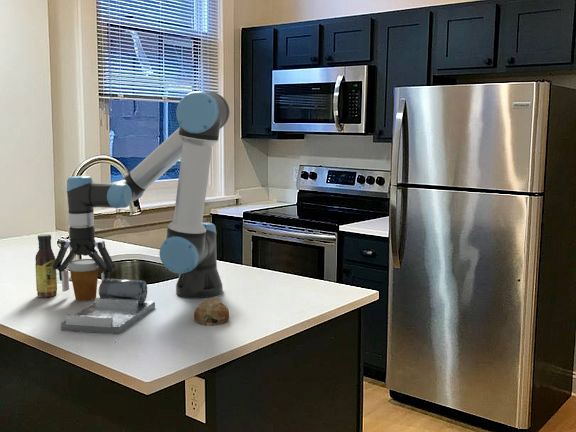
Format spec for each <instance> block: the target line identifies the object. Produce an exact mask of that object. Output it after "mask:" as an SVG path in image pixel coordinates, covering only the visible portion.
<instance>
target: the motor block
mask: <svg viewBox="0 0 576 432" xmlns="http://www.w3.org/2000/svg"><path fill="white" fill-rule="evenodd" d="M147 297H148V285H147V283H146V281H145V280H142V279H141V280H139V279H138V280H137V279H120V278H118V279H117V278H110V279H104V280H103V281H102V280H101V282H100V285H99V287H98V297H97V296H96V298H95V299H94V303H92V304H91V305H89V306H88V307H86V308H84V309H82V310H81V311H79V312H77V313H76V314H72V313H67V314H66V315H65V320H64V321H62V322H60V330H61V331H69V332H80V331H83V332H84V333H85V332H86V333H95V332H100V333H101V334H109V333H116V334H115V335H120V334H121V332H122V331H123V332H124V331H126V330H127V329H129V328H130V327H132V326H133V325H134V324H135V323H137V322H138V321H139V320H141V319H142V318H143V317H145V316H146V315H147V314H148V313H150V312H151V311H153V310H154V309H156V301H154V300H147ZM140 318H141V319H140ZM136 321H137V322H136ZM133 323H134V324H133ZM129 326H130V327H129ZM125 329H126V330H125ZM83 332H82V333H83ZM123 332H122V333H123ZM100 333H99V334H100Z"/></svg>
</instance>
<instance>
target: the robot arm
mask: <svg viewBox="0 0 576 432" xmlns="http://www.w3.org/2000/svg"><path fill="white" fill-rule="evenodd" d="M228 103H229V102H227V100H226V98H225V97H224V96H222V95H221V94H218V93H217V92H209V91H204V90H200V91H199V90H197V91H193V92H192V91H191V92H189V93H187V94H186V95H184V96H183V97H182V98H181V99H180V100H179V102H178V104H177V106H176V113H175V114H176V120H177V122H178V125H179V127H178V128H177V129H176V130H175V131H174V132H173V133H172V134H170V135H169V136H168V137H167V138H166V139H164V141H162V142H161V143H160V144H159V145H158V146H157V147H156V148H155V149H154V150H152V152H151V153H149V154H148V155H147V156H146V157H145V158H144V159H143V160H142V161H141V162H139V164H137V166H136V167H134V168H133V169H132V170H130V172H128V174H126V176H124V177H123V178H122V179H121V180H116V181H113V182H103V183H101V182H100V183H99V182H98V183H97V182H93V178H92V176H90V175H74V176H73V175H72V176H70V177H68V178H67V179H66V195H67V205H68V206H67V207H68V213H67V214H68V225H69V226H70V227H69V229H68V230H69V231H68V232H69V239H70V240H68V239H64V240H61V241H60V247H59V251H58V253H57V255H56V257H55V258H56V260H55V262H54V265H53V268H54V269H56V271H58V275H59V276H58V277H59V278H58V279H59V281H61V285H62V286H61V287H62V288H61V289H62V292H68V291H69V290H70V283H69V282H70V280H69V279H70V278H69V269H67V267H68V266H69V263H70V262H71V261H73V260H74V258H75V257H76V256H88V257H89V258H90V259H93V260H94V261H95V263H96V264H97V265H98V266H99V269H100V270H101V271H102V273H100V277H101V282H102V281H103V280H104V279H111V273H112V272H114V271H115V270H116V269H117V268H116V265H115V264H114V262H113V260H112V257H111V256H110V254H109V251H108V250H107V248H106V242H105V241H104V240H101V241H96V240H95V239H96V237H95V236H96V233H95V232H96V228H95V226H94V224H95V215H94V214H95V213H94V212H95V211H94V208H108V209H109V208H110V209H111V208H112V209H124V208H128V207H129V206H130V204H131V203H132V202H136V201H138V199H140V198H141V197H143V195H144V193H145V191H146V190H147V189H148V188H150V186H152V185H153V184H154V183H155V182H156V181H157V180H158V179H160V177H162V176H163V175H164V174H165V173H166V172H168V170H170V169H171V168H172V167H173V166H174V165H175V164H176V163H177V162H179V161H180V165H179V172H178V181H177V190H176V197H175V205H174V215H173V220H172V221H170V222H169V223H168V225H167V228H166V236H165V240H164V241H163V242H162V243H161V245H160V247H159V259H160V261H161V263H162V265H164V267H165V269H167V270H169V271H170V272H172V273H174V274H179V275H178V279H177V282H176V284H175V293H176V295H177V296H179V297H183V298H188V299H190V298H191V299H203V298H211V297H214V296H217V295H221V294H222V293H223V283H222V280H221V277H220V274H219V271H218V268H217V267H218V264H217V258H218V257H217V229H216V227H217V226H216V225H215V224H214V223H211V222H203V219H204V211H205V203H206V195H207V188H208V181H209V174H210V166H211V159H212V158H211V157H212V149H213V146H214V145H215V144H216V143H218V142H219V137H220V130H221V129H222V128H223V127H224V126H225V125H226V124H227V123H228V120H229V118H230V113H231V112H230V105H229V104H228ZM69 247H70V248H71V250H70V252H69V253H68V255H67V257H65V256H66V253H67V252H68V249H69ZM96 249H98V251H97V250H96ZM64 258H65V259H64Z"/></svg>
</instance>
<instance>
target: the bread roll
mask: <svg viewBox="0 0 576 432" xmlns="http://www.w3.org/2000/svg"><path fill="white" fill-rule="evenodd" d="M193 320H194V321H195V322H196V323H198V324H199V323H200V325H202V324H203V325H202V326H207V325H210V326H215V325H216V324H218V325H222V324H221V323H223V324H227V322H229V320H230V309H229V308H228V306H227V305H226V304H225V303H223V301H221V300H218V299H216V298H209V299H206V300H204V301H202V303H200V304H199V305H197V306H196V307H195V309H194V312H193Z"/></svg>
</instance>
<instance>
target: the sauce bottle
mask: <svg viewBox="0 0 576 432" xmlns="http://www.w3.org/2000/svg"><path fill="white" fill-rule="evenodd" d="M37 240H38V250H37V252H36V254H35V264H34V265H35V266H34V267H35V284H36V293H37V294H36V295H37V297H39V298H50V297H51V298H52V297H54V296H56V295H57V294H58V292H57V291H58V279H57V278H58V277H57V276H58V275H57V269H54V268H53V265H54V262H55V260H56V258H57V257H56V256H55V254H54V251H53V249H52V234H49V233H43V234H38V235H37Z"/></svg>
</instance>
